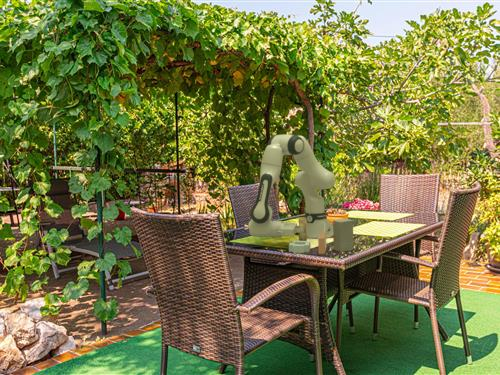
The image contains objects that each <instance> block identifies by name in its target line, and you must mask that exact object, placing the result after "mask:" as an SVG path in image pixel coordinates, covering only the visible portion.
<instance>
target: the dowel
mask: <svg viewBox="0 0 500 375" xmlns="http://www.w3.org/2000/svg"><path fill="white" fill-rule="evenodd" d="M298 226H299V228H304V232H298V241H306V242H308V241H307V238H308V237H307V233H306V218H305V217H298Z"/></svg>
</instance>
